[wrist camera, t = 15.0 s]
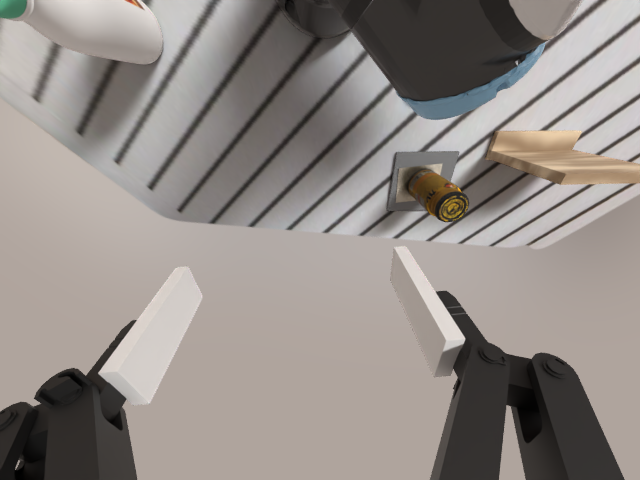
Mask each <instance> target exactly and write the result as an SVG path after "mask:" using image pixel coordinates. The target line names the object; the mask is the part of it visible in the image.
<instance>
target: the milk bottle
mask: <svg viewBox="0 0 640 480" xmlns="http://www.w3.org/2000/svg"><path fill="white" fill-rule="evenodd" d="M0 17H1V18H6V19H9V20H13V21H24V22H25V23H27V24H29V25H30V26H31V27H33V28H34V29H35V30H37V31H38V32H39V33H41V34H42V35H43V36H45V37H46V38H48V39H50V40H51V41H53V42H55V43H57V44H59V45H61V46H63V47H65V48H67V49H70V50H73V51H76V52H79V53H83V54H87V55H91V56H96V57H102V58H107V59H112V60H118V61H124V62H129V63H135V64H150V63H153V62H154V61H156V60H157V59H158V58H159V56H160V54H161V52H162V48H163V36H162V32H161V28H160V26H159V23H158V21H157V19H156V17H155V16H154V14H153V13H152V12H151V10H150V9H149V8H148V7H147V6H146V5H145V4H144V3H143V2H142V1H141V0H0Z"/></svg>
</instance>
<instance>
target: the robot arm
mask: <svg viewBox="0 0 640 480" xmlns="http://www.w3.org/2000/svg"><path fill="white" fill-rule="evenodd" d="M276 1H277V3H278V5H279V7H280V9H281V11H282V12H283V14H284V15H285V16H286V18H287V19H288V20H289V21H290V22H291V23H292V24H293V25H294V26H295V27H296V28H297V29H299V30H300V31H301V32H303V33H305V34H307V35H309V36H312V37H316V38H332V37H336V36H339V35H341V34H343V33H345V32H346V31H348V30H349V29H350V30H351V29H352V30H351V32H352V33H353V35H354V36H355V37H356V38H357V40H358V41H359V42H360V44H361V45H362V46H363V48H364V49H365V50H366V52H367V53H368V54H369V55H370V57H371V58H372V59H373V61H374V62H375V63H376V65H377V66H378V67H379V69H380V70H381V71H382V72H383V74H384V75H385V76H386V78H387V79H388V80H389V82H390V83H391V84H392V86H393V87H394V88H395V90H396V93H397V95H398V96H399V97H400V98H401V99H402V100H403V101H405V102H407V103H408V104H409V106H410V107H411V108H412V109H413V110H414V111H415V113H417V114H418V115H419V116H421V117H423V118H426V119H431V120H440V119H447V118H451V117H455V116H458V115H461V114H464V113H466V112H469V111H471V110H473V109H475V108H477V107H479V106H481V105H483V104H485V103H487V102H488V101H490V100H492V99H493V98H495V97H496V95H497V92H498V91H500V90H502V89H507V88H510V87H511V86H512V85H514V84H515V83H516V82H517V81H518V80H520V79H521V78H522V77H523V76H524V75H525V74H526V73H527V72H528V71H529V70H530V69H531V68H532V66H533V65H534V64H535V63H536V62H537V60H538V59H539V57H540V55H541V53H542V51H543V49H544V46H545V42H546V41H548V40H550V39H552V38H553V37H555V36H557V35H559V34H560V33H561V32H562V31H563V30H564V29H565V28H566V27H567V25H568V24H569V22H570V20H571V19H572V17H573V16H574V14H575V13H576V11H577V9H578V8H579V6H580V5H581V3H582V1H583V0H373V1H372V0H276ZM354 25H355V26H354ZM353 26H354V27H353ZM390 280H391V283H392V285H393V287H394V289H395V292H396V294H397V296H398V298H399V301H400V303H401V305H402V307H403V309H404V312H405V314H406V316H407V318H408V321H409V323H410V325H411V327H412V330H413V332H414V334H415V336H416V339H417V341H418V343H419V345H420V347H421V350H422V352H423V354H424V356H425V359H426V361H427V363H428V365H429V368H430V370H431V372H432V374H433V376H434V377H441V376H450V375H451V373H452V370H453V369H454V371H455V373H456V374H457V376H458V379H457V381H456V383H455V385H454V388H453V389H454V393H453V396H452V400H451V404H450V407H449V412H448V415H447V419H446V423H445V426H444V430H443V434H442V437H441V441H440V445H439V448H438V452H437V456H436V460H435V463H434V467H433V471H432V475H431V478H430V480H499V472H500V462H501V452H502V443H503V433H504V423H505V413H506V405H509V406H511V409H512V413H513V419H514V423H515V428H516V433H517V438H518V444H519V448H520V453H521V458H522V463H523V467H524V473H525V478H526V480H624V477H623V475H622V473H621V471H620V468H619V466H618V464H617V462H616V460H615V457H614V455H613V453H612V451H611V448H610V446H609V444H608V442H607V440H606V437H605V435H604V433H603V431H602V429H601V426H600V424H599V422H598V420H597V417H596V415H595V413H594V411H593V408H592V406H591V404H590V402H589V399H588V397H587V395H586V393H585V391H584V389H583V386H582V384H581V382H580V379H579V377H578V375H577V374H576V372H575V371H574V369H573V368H572V367H571V366H570V365H568V364H567V363H566V362H565V361H563V360H562V359H560V358H558V357H556V356H554V355H550V354H547V353H538V354H535V355H534V357H533V358H532V359H529V358H524V357H519V356H514V355H509V354H506V353H504V352H503V351H502V350H501V349H500V348H498V347H497V346H495V345H493V344H491V343H488V342H487V340H486V339H485V338H484V337H483V335H482V334H481V332H480V331H479V330H478V328H477V327H476V326H475V324H474V323H473V321H472V320H471V319H470V317H469V316H468V315H467V314H466V312H465V311H464V309H463V308H462V307H461V305H460V303H459V302H458V301H457V299H456V298H455V297H454V296H453V295H451V294H450V293H449V292H447V291H438V292H435V291H434V289H433V288H432V286H431V284H430V283H429V281H428V280H427V278H426V277H425V275H424V274H423V272H422V270H421V269H420V267H419V266H418V264H417V263H416V261H415V260H414V258H413V257H412V255H411V253H410V252H409V250H408V249H407V247H406V246H400V247H394V249H393V258H392V268H391V277H390ZM202 298H203V296H202V294H201V292H200V290H199V288H198V286H197V284H196V282H195V280H194V277H193V275H192V273H191V271H190V269H189V267H188V266H186V267H177V268H175V270H174V271H173V272H172V274H171V275H170V276H169V278H168V279H167V281H166V282H165V283H164V284H163V286H162V287H161V289H160V290H159V291H158V293H157V294H156V295H155V297H154V298H153V299H152V301H151V302H150V304H149V305H148V306H147V307H146V309H145V310H144V312H143V313H142V315H141V316H140V317H139V318H138V320H133V321H131V322H130V323H129V324H128V325H127V326H125V327H124V328H123V329H122V330H121V331H120V333H119V334H118V336H116V338H115V340H114V341H113V342H112V343H111V344H110V346H109V348H108V349H106V351H105V352H104V353H103V355H102V356H101V357H100V359H99V360H98V361H97V362H96V364H95V365H94V366H93V368H92V369H91V370H90V371H89V373H88V374H87V375H86V376H85V375H84V374H83V373H82V372H81V371H79V370H78V369H75V368H71V369H66V370H64V371H62V372H60V373H58V374H56V375H55V376H53V377H51V378H50V379H49V380H48V381H46V382H45V383H44V384H43V385H42V386H41V388H40V389H39V390H38V391H37V392H36V395H35V398H34V399H36V400H37V401H38V402H40V403H41V404H40V405H37V406H34V407H33V406H31V405H30V404H28V403H26V402H19V403H16V404H13V405H11V406H9V407H7V408H5V409H4V410H2V411H1V412H0V480H137V475H136V469H135V464H134V459H133V453H132V447H131V442H130V436H129V430H128V425H127V419H126V414H125V411H124V409H123V408H122V406H123V404H124V402H125V401H126V399H127V400H128V401H129V402H130V403H131V404H132V405H142V404H150V402H151V400H152V398H153V396H154V394H155V392H156V390H157V388H158V386H159V384H160V382H161V380H162V378H163V376H164V374H165V372H166V370H167V368H168V366H169V364H170V362H171V360H172V358H173V356H174V354H175V352H176V350H177V348H178V346H179V344H180V342H181V340H182V338H183V336H184V334H185V331H186V330H187V328H188V326H189V324H190V322H191V320H192V318H193V316H194V314H195V312H196V310H197V308H198V306H199V304H200V302H201V300H202ZM18 460H20V463H19V465H18V467H17V469H16V470H15V467H16V465H17V462H18Z"/></svg>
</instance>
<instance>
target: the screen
mask: <svg viewBox="0 0 640 480" xmlns="http://www.w3.org/2000/svg"><path fill="white" fill-rule="evenodd" d="M581 132H582V131H577V130H575V131H495V132H494V135H493V138H492V141H491V144H490V146H489V149H488V152H487V155H486V157H485V159H486V160H493V161H496V162H499V163H502V164H505V165H507V166H510V167H513V168H516V169H518V170H521V171H524V172H527V173H529V174H532V175H535V176H538V177H541V178H543V179H546V180H549V181H552V182H554V183H557V184H560V185H566V184H618V183H640V164H637V163H632V162H627V161H623V160H618V159H613V158H609V157H604V156H599V155H595V154H590V153H585V152H581V151H576V150H572V149H573V147H574V145H575V143H576V141H577V140H578V138H579V136H580V134H581Z"/></svg>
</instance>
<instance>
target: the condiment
mask: <svg viewBox="0 0 640 480" xmlns="http://www.w3.org/2000/svg"><path fill="white" fill-rule="evenodd" d="M442 164H443V163H442ZM442 164H432V165H422V166H414V167H405V168H399V173H398V183H397V194H396V203H397V202H407V201H415V200H416V201H417V202H419V204H420V205H421V206H422V207H423V208H425V209H426V211H428V212H429V214H431V215H433V216H436V217H437V218H438V219H439V220H441V221H444V222H452V221H455V220H457V219H459V218H461V217H462V216H463V215H464V214H465V212H466V211H467V209H468V206H469V200H468V198H467V196H466V195H465V194H464V193H462V192H461V190H460V189H459V188H458V187H457V186H456V185H454V184H453V183H451V182H450V181H448V180H447V179H445V178H443V177H442V176H440V174H441V169H442Z"/></svg>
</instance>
